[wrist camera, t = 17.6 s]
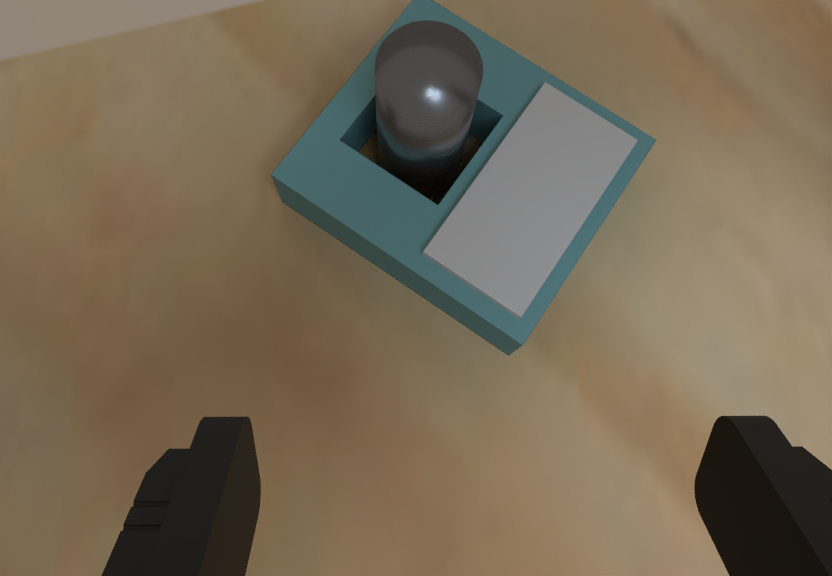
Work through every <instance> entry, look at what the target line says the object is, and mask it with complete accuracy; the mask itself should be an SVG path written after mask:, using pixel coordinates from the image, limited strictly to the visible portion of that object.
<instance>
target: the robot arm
mask: <svg viewBox="0 0 832 576" xmlns="http://www.w3.org/2000/svg"><path fill="white" fill-rule="evenodd" d="M260 494H261V485H260V475H259V468H258V462H257V456H256V450H255V443H254V437H253V431H252V425H251V421H250V418H249V417H203V418H202V419H201V421H200V423H199V425H198V428H197V431H196V433H195V436H194V439H193V441H192V444H191V447H190V449H168V450H167V451H166V452H165V453H164V455H163V456H162V457H161V458H160V459H159V460H158V461H157V462H156V463H155V464H154V465H153V466H152V467H151V468H150V469H149V470H148V471H147V472H146V474H145V476H144V478H143V481H142V483H141V485H140V488H139V490H138V492H137V495H136V497H135V499H134V505H133V507H131V509H130V511H129V513H128V516H127V518H126V520H125V522H124V528H123V531H121V532H120V534H119V536H118V539H117V541H116V543H115V546H114V548H113V550H112V553H111V555H110V557H109V560H108V562H107V564H106V567H105V569H104V571H103V574H102V576H245V573H246V569H247V564H248V560H249V555H250V551H251V546H252V542H253V537H254V533H255V528H256V524H257V519H258V514H259V507H260ZM695 499H696V504H697V508H698V511H699V513H700V515H701V518H702V520H703V522H704V524H705V526H706V528H707V530H708V532H709V534H710V536H711V538H712V540H713V542H714V544H715V546H716V549H717V551H718V553H719V555H720V557H721V559H722V561H723V563H724V565H725V567H726V569H727V571H728V573H729V575H730V576H832V470H831V469H830V468H828V467H827V466H826V465H825V464H823V463H822V462H821V461H820V460H818V459H817V458H816V457H815V456H813V455H812V454H811V453H809V452H808V451H807V450H806V449H804V448H803V447H792V446H791V444H790V443H789V441H788V440H787V439H786V437H785V436H784V434H783V433H782V432H781V430H780V429H779V427H778V426H777V424H776V423H775V422H774V421H773V420H772V419H771V418H769V417H767V416H721V417H719V418H718V419H717V420H716V421H715V423H714V426H713V429H712V431H711V434H710V437H709V440H708V443H707V446H706V449H705V451H704V454H703V457H702V460H701V463H700V466H699V469H698V471H697V474H696V478H695Z"/></svg>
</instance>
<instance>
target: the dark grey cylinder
mask: <svg viewBox="0 0 832 576" xmlns="http://www.w3.org/2000/svg"><path fill="white" fill-rule="evenodd" d="M482 78H483V63H482V58H481V55H480V53H479V51H478V49H477V47H476V45H475V44H474V42H473V41H472V40H471V39H470V38H469V37H468V36H467V35H466V34H465V33H463V32H462V31H461V30H459V29H457V28H456V27H454V26H452V25H449V24H447V23H443V22H439V21H430V20H424V21H416V22H411V23H408V24H405V25H403V26H401V27H399V28H398V29H396V30H394V31H393V32H392V33H391V34H389V35H388V36H387V38H386V39H385V40H384V41H383V43H382V44H381V46H380V48H379V50H378V52H377V55H376V59H375V94H376V122H377V150H378V166H379V167H381V168H382V169H384V170H385V171H387V172H388V173H390V174H391V175H393V176H394V177H396V178H397V179H399V180H400V181H402V182H404V183H405V184H407V185H408V186H410V187H411V188H413V189H414V190H416V191H417V192H419V193H420V194H422V195H423V196H425V197H426V198H431V197H434V196H437V195H439V194H441V193H443V192H444V191H445V190H447V189H448V188H449V187H450V186H451V185H452V183H453V182H454V180H455V179H456V177H457V174H458V171H459V168H460V164H461V160H462V156H463V152H464V148H465V144H466V141H467V137H468V133H469V129H470V125H471V121H472V117H473V114H474V110H475V106H476V102H477V98H478V94H479V90H480V86H481V83H482Z"/></svg>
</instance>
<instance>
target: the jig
mask: <svg viewBox="0 0 832 576" xmlns="http://www.w3.org/2000/svg"><path fill="white" fill-rule="evenodd" d="M424 20H430V21H439V22H443V23H447V24H449V25H452V26H454V27H456V28H457V29H459V30H461V31H462V32H463V33H465V34H466V35H467V36H468V37H469V38H470V39H471V40H472V41H473V42H474V44H475V45H476V47H477V49H478V51H479V53H480V55H481V58H482V63H483V78H482V83H481V86H480V90H479V94H478V98H477V102H476V106H475V110H474V114H473V117H472V121H471V125H470V129H469V133H470V134H472V135H473V136H475V137H477V138H478V139H480V140H481V141H483V142H484V143H483V144H482V146H481V147H480V148H479V150H478V151H477V153H476V154H475V155H474V157H473V158H472V159H471V161H470V162H469V164H468V165H467V166H466V168H465V169H464V170H463V172H462V173H461V175H460V176H459V177H458V179H457V180H456V181H455V183H454V184H453V186H452V187H451V188H450V190H449V191H448V192H447V194H446V195H445V197H444V198H443V199H442V201H441V202H440V203H439V205H437V204H435V203H434V202H432V201H431V200H429V199H428V198H426V197H425V196H423V195H422V194H420V193H419V192H417V191H416V190H414V189H413V188H411V187H410V186H408V185H407V184H405V183H404V182H402V181H400V180H399V179H397V178H396V177H394V176H393V175H391V174H390V173H388V172H387V171H385V170H384V169H382V168H381V167H379V166H378V165H376V164H375V163H373V162H372V161H370V160H369V159H367V158H366V157H364V156H363V155H361V154H360V153H358V152H359V151H360V149H361V148H362V147H363V145H364V144H365V143H366V142H367V140H368V139H369V138H370V136H371V135H372V134H373V133H374V131H375V130H376V129H377V122H376V94H375V59H376V55H377V52H378V50H379V48H380V46H381V44H382V43H383V41H384V40H385V39H386V38H387V36H388V35H389V34H391V33H392V32H393V31H394V30H396V29H398V28H399V27H401V26H403V25H405V24H408V23H411V22H416V21H424ZM655 141H656V140H655V139H654V138H652V137H651V136H649V135H647V134H646V133H644V132H643V131H641V130H639V129H638V128H636V127H635V126H633V125H631V124H630V123H628V122H627V121H625V120H623V119H622V118H620V117H619V116H617V115H615V114H614V113H612V112H611V111H609V110H607V109H606V108H604V107H603V106H601V105H599V104H598V103H596V102H595V101H593V100H591V99H590V98H588V97H587V96H585V95H583V94H582V93H580V92H579V91H577V90H575V89H574V88H572V87H571V86H569V85H567V84H566V83H564V82H563V81H561V80H559V79H558V78H556V77H555V76H553V75H551V74H550V73H548V72H547V71H545V70H543V69H542V68H540V67H538V66H537V65H535V64H534V63H532V62H530V61H529V60H527V59H526V58H524V57H522V56H521V55H519V54H518V53H516V52H514V51H513V50H511V49H510V48H508V47H506V46H505V45H503V44H502V43H500V42H498V41H497V40H495V39H494V38H492V37H490V36H489V35H487V34H486V33H484V32H482V31H481V30H479V29H478V28H476V27H474V26H473V25H471V24H470V23H468V22H466V21H465V20H463V19H462V18H460V17H458V16H457V15H455V14H454V13H452V12H450V11H449V10H447V9H446V8H444V7H442V6H441V5H439V4H438V3H436V2H434V1H433V0H413V1H412V2H411V3H410V4H409V5H408V7H407V8H406V9H405V10H404V12H403V13H402V14H401V15H400V17H399V18H398V19H397V20H396V22H395V23H394V24H393V25H392V26H391V28H390V29H389V30H388V31H387V33H386V34H385V35H384V36H383V38H382V39H381V40H380V41H379V42H378V44H377V45H376V46H375V47H374V49H373V50H372V51H371V52H370V54H369V55H368V56H367V57H366V58H365V60H364V61H363V62H362V63H361V65H360V66H359V67H358V68H357V70H356V71H355V72H354V73H353V74H352V76H351V77H350V78H349V79H348V81H347V82H346V83H345V84H344V86H343V87H342V88H341V89H340V91H339V92H338V93H337V94H336V95H335V97H334V98H333V99H332V100H331V102H330V103H329V104H328V105H327V107H326V108H325V109H324V110H323V111H322V113H321V114H320V115H319V116H318V118H317V119H316V120H315V121H314V123H313V124H312V125H311V126H310V127H309V129H308V130H307V131H306V132H305V134H304V135H303V136H302V137H301V139H300V140H299V141H298V142H297V143H296V145H295V146H294V147H293V148H292V150H291V151H290V152H289V153H288V155H287V156H286V157H285V158H284V159H283V161H282V162H281V163H280V164H279V166H278V167H277V168H276V169H275V171H274V172H273V173H272V174H271V176H272V178H273V180H274V183H275V185H276V187H277V190H278V192H279V194H280V196H281V199H282V201H283V202H284V203H285V204H287V205H288V206H289V207H291V208H292V209H294V210H295V211H297V212H298V213H300V214H301V215H303V216H304V217H306V218H307V219H309V220H310V221H312V222H313V223H314V224H316V225H317V226H319V227H320V228H322V229H323V230H325V231H326V232H328V233H329V234H331V235H332V236H334V237H335V238H337V239H338V240H339V241H341V242H342V243H344V244H345V245H347V246H348V247H350V248H351V249H353V250H354V251H356V252H357V253H359V254H360V255H362V256H363V257H364V258H366V259H367V260H369V261H370V262H372V263H373V264H375V265H376V266H378V267H379V268H381V269H382V270H384V271H385V272H386V273H388V274H389V275H391V276H392V277H394V278H395V279H397V280H398V281H400V282H401V283H403V284H404V285H406V286H407V287H409V288H410V289H411V290H413V291H414V292H416V293H417V294H419V295H420V296H422V297H423V298H425V299H426V300H428V301H429V302H431V303H432V304H434V305H435V306H436V307H438V308H439V309H441V310H442V311H444V312H445V313H447V314H448V315H450V316H451V317H453V318H454V319H456V320H457V321H459V322H460V323H461V324H463V325H464V326H466V327H467V328H469V329H470V330H472V331H473V332H475V333H476V334H478V335H479V336H481V337H482V338H484V339H485V340H486V341H488V342H489V343H491V344H492V345H494V346H495V347H497V348H498V349H500V350H501V351H503V352H504V353H506V354H507V355H510V354H511V353H513V352H514V351H515V350H517V349H518V348H519V347H521V346H522V345H523V344H524V342H525V341H526V339H527V338H528V336H529V335H530V333H531V332H532V330H533V329H534V327H535V325H536V324H537V322H538V321H539V319H540V318H541V316H542V315H543V313H544V312H545V310H546V309H547V307H548V306H549V304H550V302H551V301H552V299H553V298H554V296H555V295H556V293H557V292H558V290H559V289H560V287H561V286H562V284H563V283H564V281H565V279H566V278H567V276H568V275H569V273H570V272H571V270H572V269H573V267H574V266H575V264H576V263H577V261H578V259H579V258H580V256H581V255H582V253H583V252H584V250H585V249H586V247H587V246H588V244H589V243H590V241H591V240H592V238H593V236H594V235H595V233H596V232H597V230H598V229H599V227H600V226H601V224H602V223H603V221H604V220H605V218H606V217H607V215H608V213H609V212H610V210H611V209H612V207H613V206H614V204H615V203H616V201H617V200H618V198H619V197H620V195H621V193H622V192H623V190H624V189H625V187H626V186H627V184H628V183H629V181H630V180H631V178H632V177H633V175H634V174H635V172H636V170H637V169H638V167H639V166H640V164H641V163H642V161H643V160H644V158H645V157H646V155H647V154H648V152H649V151H650V149H651V147H652V146H653V144H654V143H655Z"/></svg>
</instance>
